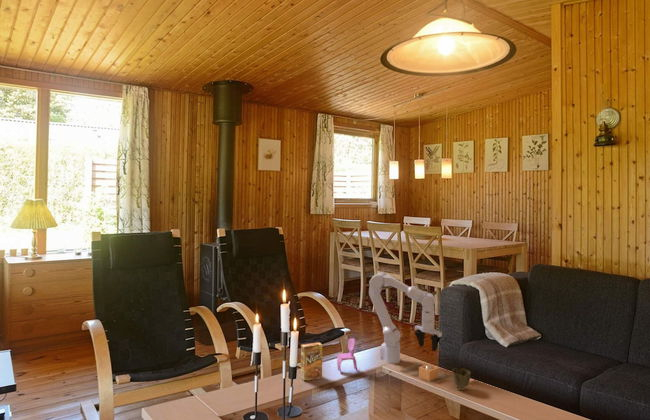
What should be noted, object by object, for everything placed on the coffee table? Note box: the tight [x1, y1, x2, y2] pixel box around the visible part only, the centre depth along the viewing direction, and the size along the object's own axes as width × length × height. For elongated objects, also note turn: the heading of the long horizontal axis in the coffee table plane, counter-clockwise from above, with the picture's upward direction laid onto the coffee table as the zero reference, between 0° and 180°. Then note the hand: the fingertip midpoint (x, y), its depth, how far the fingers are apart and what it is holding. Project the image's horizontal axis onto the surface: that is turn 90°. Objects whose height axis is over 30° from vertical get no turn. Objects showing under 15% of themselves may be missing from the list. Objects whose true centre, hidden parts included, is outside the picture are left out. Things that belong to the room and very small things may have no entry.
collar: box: [419, 363, 439, 381], centre depth 205 cm, size 6×6×4 cm
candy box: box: [300, 341, 323, 381], centre depth 206 cm, size 9×4×15 cm, turn 113°
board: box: [397, 363, 453, 385], centre depth 210 cm, size 20×14×1 cm
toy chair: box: [336, 337, 359, 374], centre depth 215 cm, size 8×9×15 cm
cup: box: [451, 367, 472, 392], centre depth 195 cm, size 8×7×8 cm
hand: (427, 348), depth 218 cm, fingers open, 7 cm apart
